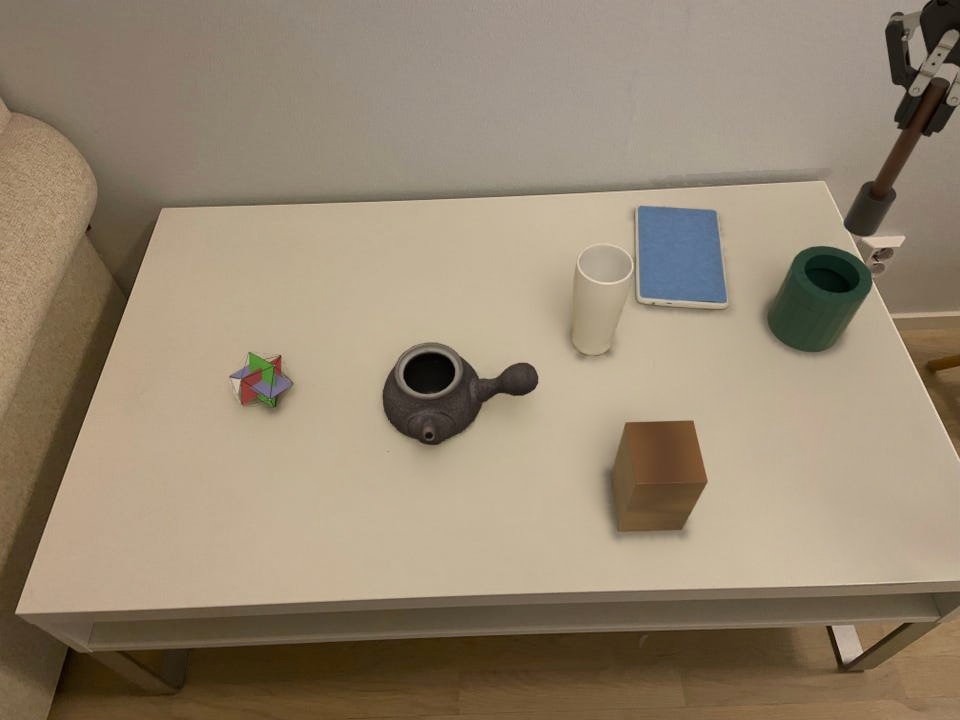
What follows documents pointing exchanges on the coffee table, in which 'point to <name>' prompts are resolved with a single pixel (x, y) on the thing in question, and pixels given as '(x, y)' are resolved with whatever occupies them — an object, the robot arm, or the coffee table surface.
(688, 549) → the coffee table surface
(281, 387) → the geometric puzzle
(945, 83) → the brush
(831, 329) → the green hollow cylinder
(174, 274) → the coffee table surface
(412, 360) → the teapot
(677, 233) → the tablet
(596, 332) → the white tall cup
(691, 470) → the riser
